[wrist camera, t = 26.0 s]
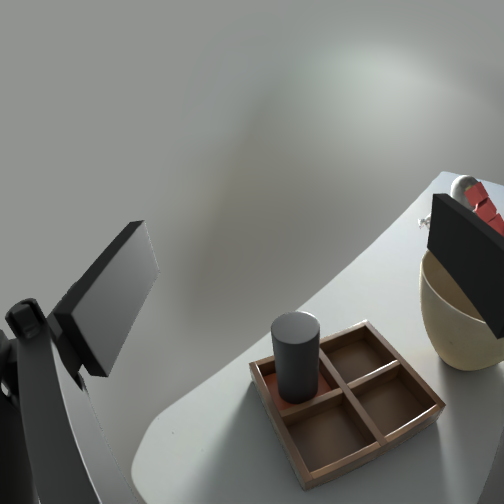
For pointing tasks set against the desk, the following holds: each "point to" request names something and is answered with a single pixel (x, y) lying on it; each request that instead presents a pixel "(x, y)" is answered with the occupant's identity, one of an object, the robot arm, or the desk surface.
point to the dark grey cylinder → (296, 356)
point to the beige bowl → (455, 321)
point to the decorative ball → (462, 190)
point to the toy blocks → (484, 207)
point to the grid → (348, 405)
